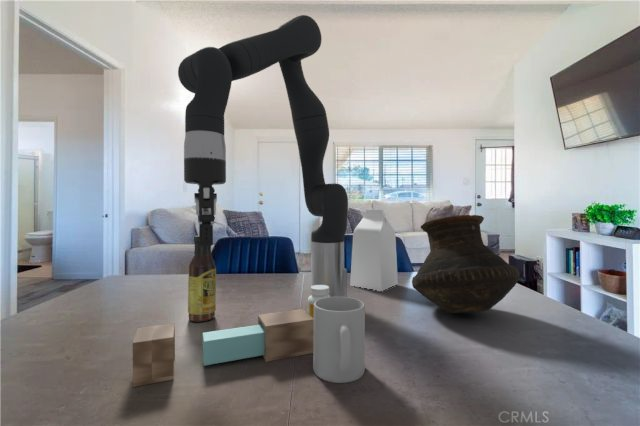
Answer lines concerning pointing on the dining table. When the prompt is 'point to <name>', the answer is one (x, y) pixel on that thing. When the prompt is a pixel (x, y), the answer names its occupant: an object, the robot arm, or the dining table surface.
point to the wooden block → (287, 334)
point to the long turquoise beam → (233, 344)
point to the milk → (374, 253)
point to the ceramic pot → (462, 267)
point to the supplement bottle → (316, 297)
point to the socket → (154, 354)
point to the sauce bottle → (201, 284)
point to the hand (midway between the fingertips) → (205, 243)
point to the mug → (339, 339)
